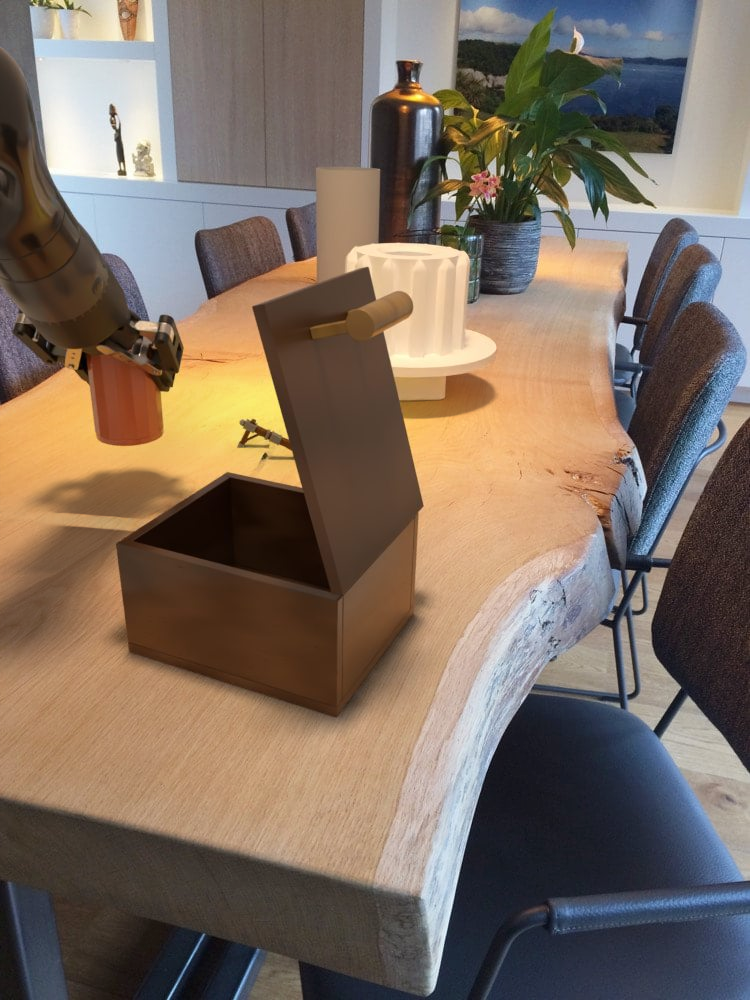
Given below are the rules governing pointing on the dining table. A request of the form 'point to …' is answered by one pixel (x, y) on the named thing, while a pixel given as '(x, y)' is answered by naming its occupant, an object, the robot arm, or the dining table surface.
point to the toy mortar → (267, 434)
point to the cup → (124, 402)
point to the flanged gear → (425, 315)
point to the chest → (260, 595)
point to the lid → (343, 415)
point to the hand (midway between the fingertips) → (131, 380)
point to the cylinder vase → (344, 215)
